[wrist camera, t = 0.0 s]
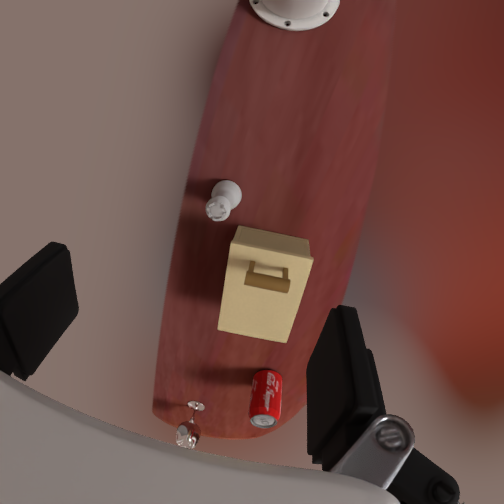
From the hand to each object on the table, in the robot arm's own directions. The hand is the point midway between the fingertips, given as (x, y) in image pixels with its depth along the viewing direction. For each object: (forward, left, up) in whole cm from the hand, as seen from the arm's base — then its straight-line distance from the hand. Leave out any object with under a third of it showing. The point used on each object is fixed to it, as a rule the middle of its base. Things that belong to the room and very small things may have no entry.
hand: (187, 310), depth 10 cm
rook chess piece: (+8, -4, -37) cm, 38 cm away
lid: (+20, +4, -29) cm, 36 cm away
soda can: (+46, +10, -37) cm, 60 cm away
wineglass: (+64, -5, -37) cm, 74 cm away
